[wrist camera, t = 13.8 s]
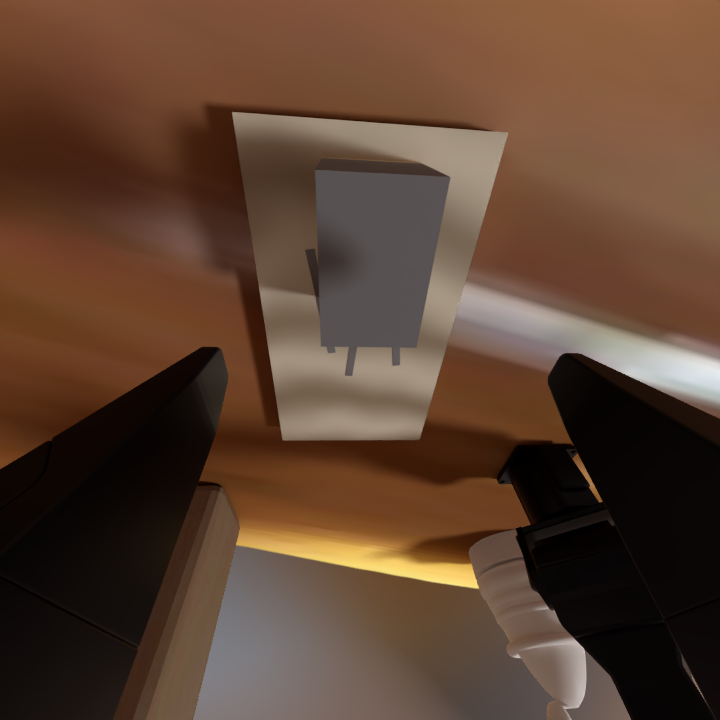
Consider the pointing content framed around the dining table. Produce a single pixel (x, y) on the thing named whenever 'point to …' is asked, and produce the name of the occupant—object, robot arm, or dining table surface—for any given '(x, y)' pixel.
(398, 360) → the board
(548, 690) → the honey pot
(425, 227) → the block
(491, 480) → the dining table surface
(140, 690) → the wooden block
